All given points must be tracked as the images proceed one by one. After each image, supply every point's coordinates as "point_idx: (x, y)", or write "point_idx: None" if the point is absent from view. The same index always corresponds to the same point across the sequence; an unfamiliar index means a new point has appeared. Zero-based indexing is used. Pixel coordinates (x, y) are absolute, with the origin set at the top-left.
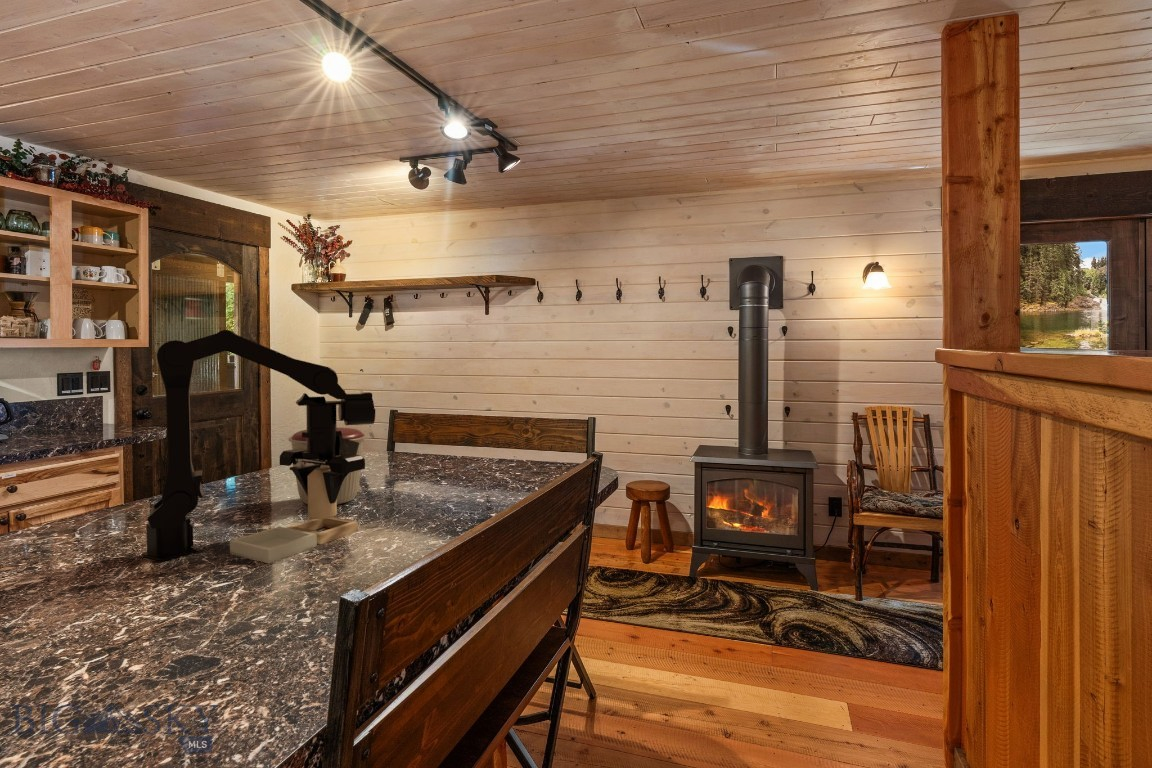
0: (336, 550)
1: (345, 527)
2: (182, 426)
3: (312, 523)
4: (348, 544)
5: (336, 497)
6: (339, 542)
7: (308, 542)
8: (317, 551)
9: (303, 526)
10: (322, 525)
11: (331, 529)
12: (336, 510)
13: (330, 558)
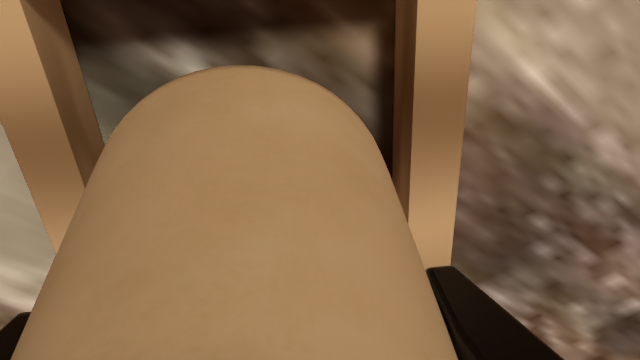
0: (592, 244)
1: (466, 61)
2: None
3: (74, 125)
4: (596, 148)
5: (495, 311)
6: (511, 154)
7: None
8: (502, 299)
9: None
10: None
11: (429, 184)
12: (360, 130)
13: (636, 316)
